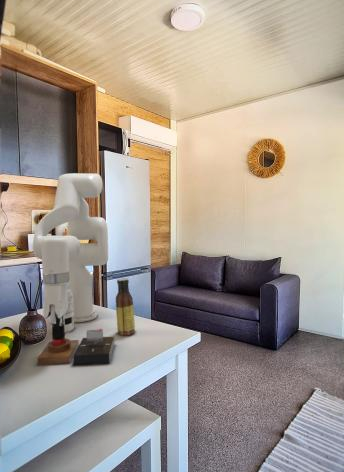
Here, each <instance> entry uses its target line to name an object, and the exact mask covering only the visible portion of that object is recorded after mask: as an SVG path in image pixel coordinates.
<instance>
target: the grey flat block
mask: <svg viewBox="0 0 344 472" xmlns="http://www.w3.org/2000/svg"><path fill="white" fill-rule="evenodd" d="M103 337H104V330H103V329H102V328H99V329H88V330H87V331H86V338H87V346H103Z"/></svg>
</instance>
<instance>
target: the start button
mask: <svg viewBox="0 0 344 472" xmlns="http://www.w3.org/2000/svg"><path fill="white" fill-rule="evenodd" d="M65 339H66V336H64V338H63V339H53V338H52V340H53V345H62V344H65Z"/></svg>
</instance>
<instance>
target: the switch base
mask: <svg viewBox="0 0 344 472" xmlns="http://www.w3.org/2000/svg"><path fill="white" fill-rule="evenodd" d="M114 348H115V336H103V346H87V337H83V338H82V339H81V341H80V342H79V346H78V348H77V350H76V352H75V354H74V356H73V366H89V365H93V366H94V365H109V364H110V363H111V359H112V356H113V351H114Z"/></svg>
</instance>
